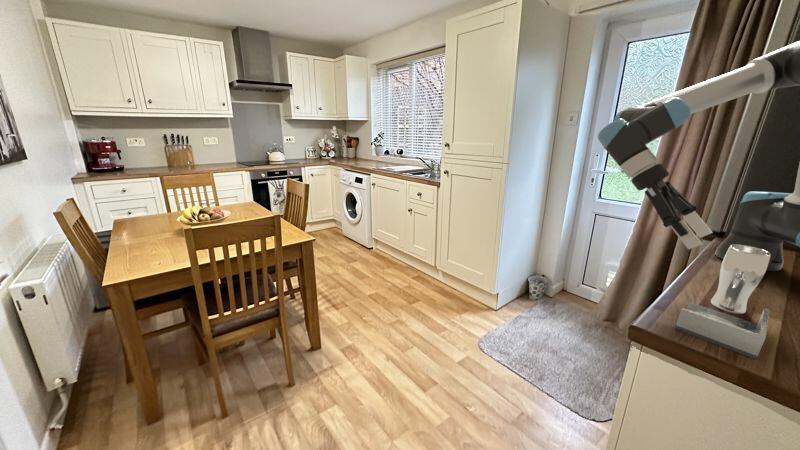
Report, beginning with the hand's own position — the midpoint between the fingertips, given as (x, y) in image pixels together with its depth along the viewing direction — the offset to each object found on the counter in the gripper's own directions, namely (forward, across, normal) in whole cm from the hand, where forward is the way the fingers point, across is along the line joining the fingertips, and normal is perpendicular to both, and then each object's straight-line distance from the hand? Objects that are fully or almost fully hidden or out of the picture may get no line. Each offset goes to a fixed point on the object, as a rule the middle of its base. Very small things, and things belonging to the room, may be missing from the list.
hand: (701, 240), depth 78 cm
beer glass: (+16, -1, -5) cm, 17 cm away
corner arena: (+16, +13, -4) cm, 21 cm away
